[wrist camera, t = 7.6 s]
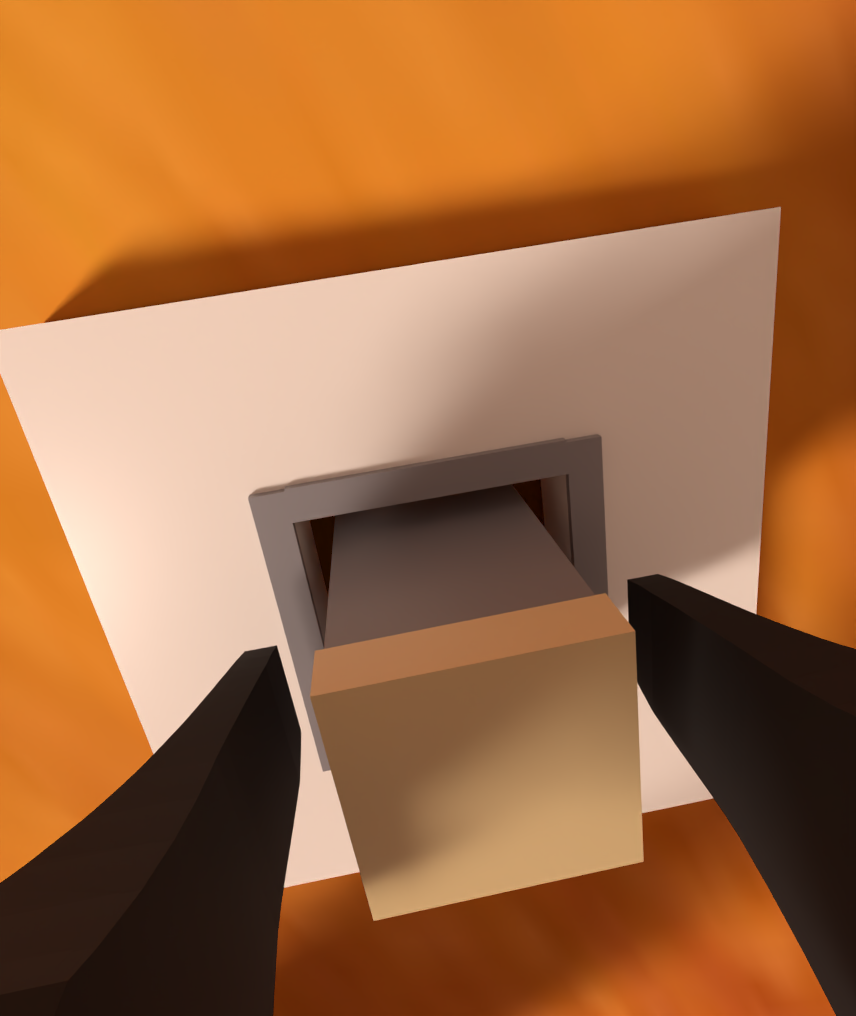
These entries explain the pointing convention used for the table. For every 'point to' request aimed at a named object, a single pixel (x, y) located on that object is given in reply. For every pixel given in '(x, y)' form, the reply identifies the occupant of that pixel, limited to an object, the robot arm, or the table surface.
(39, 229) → the table surface
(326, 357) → the socket
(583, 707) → the plug
